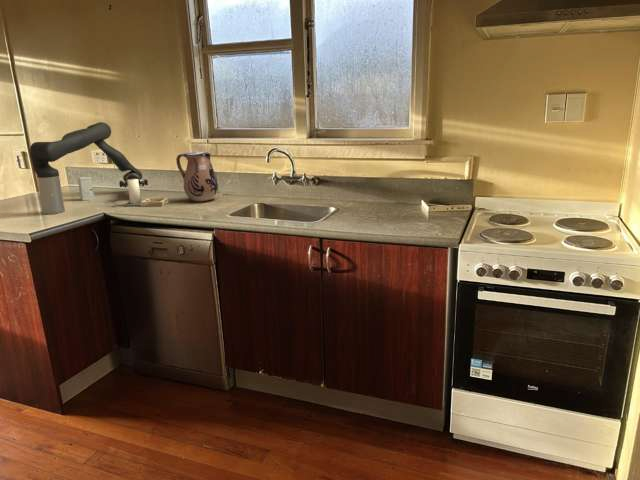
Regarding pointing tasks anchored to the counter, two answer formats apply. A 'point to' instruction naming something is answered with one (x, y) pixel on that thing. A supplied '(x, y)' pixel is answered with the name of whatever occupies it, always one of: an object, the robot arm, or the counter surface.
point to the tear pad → (131, 204)
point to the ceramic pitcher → (198, 176)
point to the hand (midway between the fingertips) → (134, 185)
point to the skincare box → (85, 188)
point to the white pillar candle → (134, 191)
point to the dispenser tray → (154, 202)
